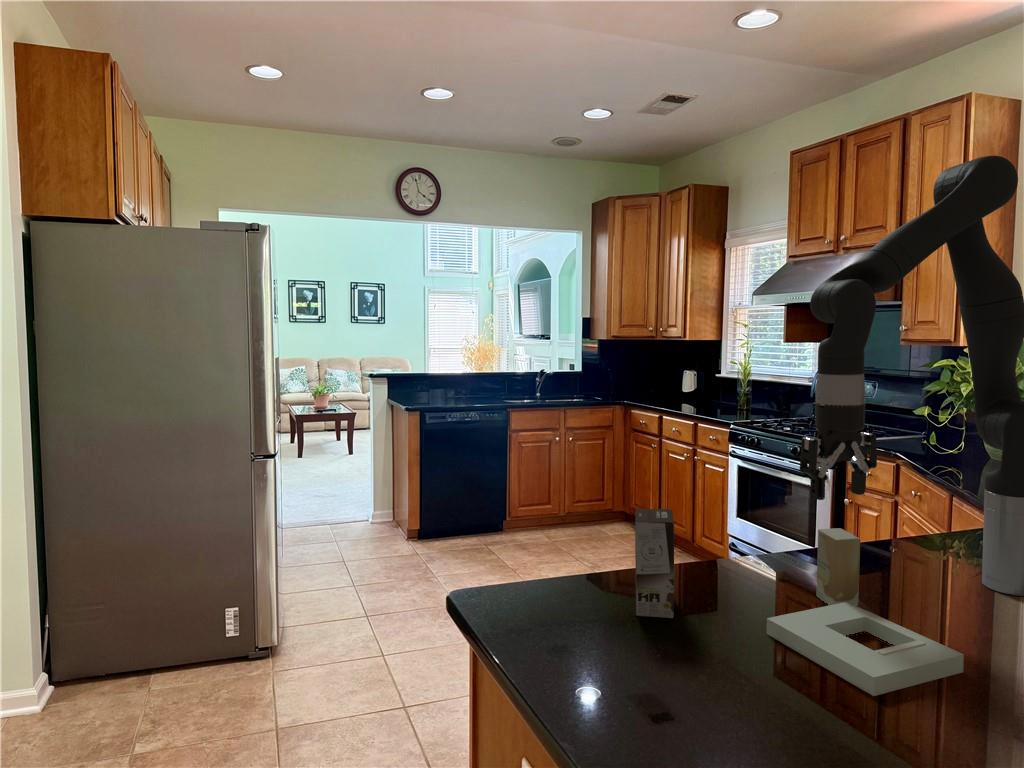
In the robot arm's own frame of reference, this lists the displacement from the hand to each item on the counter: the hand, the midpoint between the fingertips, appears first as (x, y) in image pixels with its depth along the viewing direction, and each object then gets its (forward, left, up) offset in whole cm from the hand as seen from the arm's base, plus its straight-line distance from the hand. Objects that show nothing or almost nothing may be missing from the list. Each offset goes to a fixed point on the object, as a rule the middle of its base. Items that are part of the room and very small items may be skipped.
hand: (838, 496), depth 118 cm
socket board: (+11, +15, -19) cm, 26 cm away
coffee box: (+29, -11, -19) cm, 36 cm away
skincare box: (0, 0, -19) cm, 19 cm away
